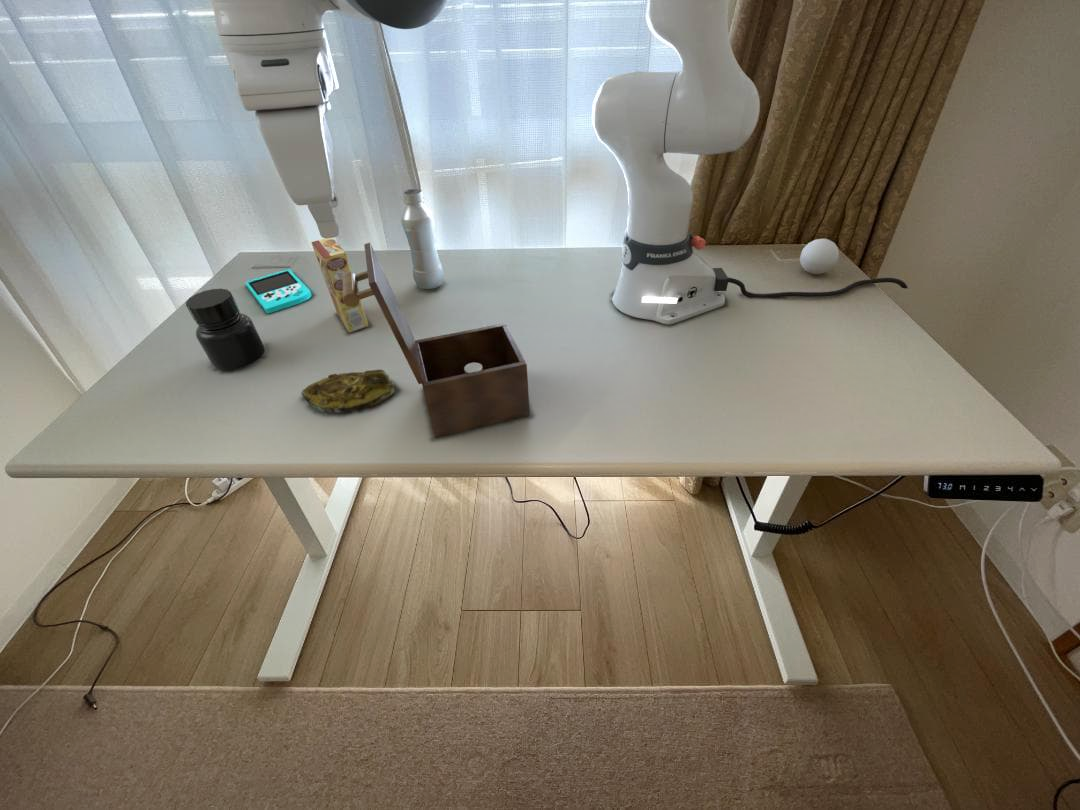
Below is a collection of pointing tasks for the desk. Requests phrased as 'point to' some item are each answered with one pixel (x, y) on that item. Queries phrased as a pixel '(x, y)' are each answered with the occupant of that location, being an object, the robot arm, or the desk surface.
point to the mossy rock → (349, 391)
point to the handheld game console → (278, 290)
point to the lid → (383, 306)
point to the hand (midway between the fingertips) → (330, 219)
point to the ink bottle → (224, 330)
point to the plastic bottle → (421, 240)
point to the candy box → (338, 281)
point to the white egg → (819, 256)
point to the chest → (473, 379)
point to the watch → (472, 367)
